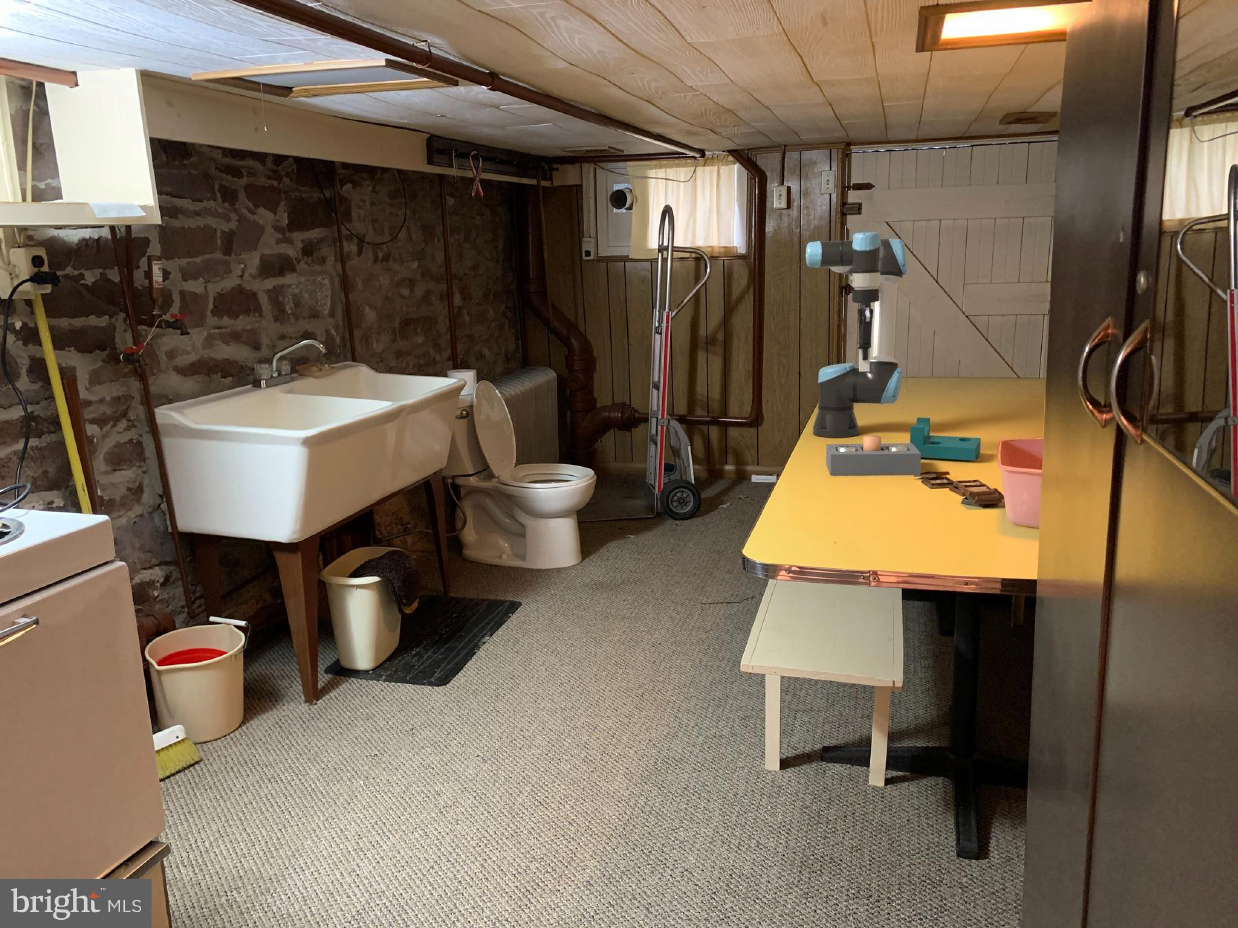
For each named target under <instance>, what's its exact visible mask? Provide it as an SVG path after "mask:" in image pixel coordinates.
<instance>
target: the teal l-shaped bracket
mask: <svg viewBox="0 0 1238 928" xmlns="http://www.w3.org/2000/svg"><path fill="white" fill-rule="evenodd" d="M981 439H982V438H981V437H972V436H971V437H968V436H953V435H952V436H951V435H950V436H949V435H935V434H934V435H933V434H931V417H922V416H921V417H919V416H917V417H916V425H910V427H909V443H912V444H913V445H914V446H915V447H916V448H917V450H918V451H919V452H920V453H921V458H928V459H929V458H931V459H943V460H945V459H947V460H958V461H959V460H960V461H961V460H962V461H976V460H978V459H979V458H980V456H981Z"/></svg>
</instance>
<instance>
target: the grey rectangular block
mask: <svg viewBox="0 0 1238 928" xmlns="http://www.w3.org/2000/svg"><path fill="white" fill-rule="evenodd" d="M844 445H848V446H855V451H838V447H839V446H844ZM890 445H905V446H907V451H889V446H890ZM825 446H826V448H825V452H826V453H825V454H826V456H825V457H826V458H825V464H826V468H827V470H828V473H829V475H830V476H832V477H833V476H835V477H836V476H837V477H838V476H839V477H842V476H845V477H846V476H847V477H848V476H854V477H855V476H920V475H921V467H922V466H921V463H922V460H921V459H922V457H921V453H920V452H919V451H918V450H917V448H916V447H915V446H914V445H913V444H912V443H910V442H908V443H907V442H905V443H904V442H903V443H902V442H901V443H900V442H899V443H898V442H897V443H896V442H895V443H890V442H889V443H883V442H881V451H863V443H826V444H825Z"/></svg>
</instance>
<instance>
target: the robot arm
mask: <svg viewBox="0 0 1238 928" xmlns="http://www.w3.org/2000/svg"><path fill="white" fill-rule="evenodd" d="M805 262H806V265H807V267H809V268H815V269H816V268H817V269H818V268H829V269H830V270H831V271H832V272H835V273H839V274H843V275H848V276H850V278H849V280H850V281H852V282H851V283H852V284H851V286H852V288H853V289H852V290H851V302H852V303H855V304H859V308H857V311H856V312H857V313H856V314H857V315H858V316H857V319H858V320H857V323H858V346H857V349H858V351H859V352H858V353H859V355H858V357H859V358H858V360H859V361H858V365H859V367H856V366H855V364H854V362H853V363H852V362H850V363H847V362H845V363H837V364H831V365H827V366H824V367H822V368H820V369H819V371H818V380H817V384H818V386H817V387H818V388H817V389H818V391H817V392H818V393H817V395H818V396H817V408H818V409H817V413H816V417H815V420H814V423H813V426H812V435H814V436H817V437H823V438H850V437H851V438H852V437H855V436H858V435H859V434H860V433H859V432H860V431H859V430H860V429H859V428H860V427H859V424H858V420H857V416H856V414H855V410H854V409H855V407H854V406H855V405H854V404H875V405H876V404H879V405H884V404H885V405H886V404H894V403H896V402H897V400H898V399H899V395H900V393H901V387H902V381H903V372H904V371H903V368H901V367H899V362H898V361H897V360H896V359H895V341H896V339H895V338H896V337H895V336H896V321H897V320H896V317H897V316H896V314H897V295H898V293H897V292H898V285H899V284H900V283H902V281H903V276H905V275H908V261H907V252H906V244H905V242H904V241H903V239H901V238H881V234H880V232H877V231H874V232H873V231H871V232H870V231H869V232H868V231H866V232H856V233H854V234H853V235H852V239H850V240H849V239H848V240H827V241H825V240H823V241H821V240H817V241H811V242H810V241H809V242H808V243H807V245H806V249H805Z"/></svg>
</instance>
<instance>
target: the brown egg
mask: <svg viewBox="0 0 1238 928" xmlns="http://www.w3.org/2000/svg"><path fill="white" fill-rule="evenodd" d="M862 439H863V443H862V444H863V451H881V443H882V437H881V436H878V435H866V436H865V435H864V436H863V438H862Z"/></svg>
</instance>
